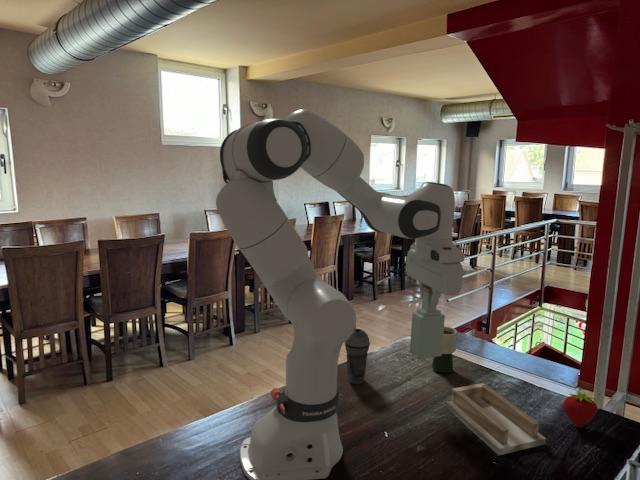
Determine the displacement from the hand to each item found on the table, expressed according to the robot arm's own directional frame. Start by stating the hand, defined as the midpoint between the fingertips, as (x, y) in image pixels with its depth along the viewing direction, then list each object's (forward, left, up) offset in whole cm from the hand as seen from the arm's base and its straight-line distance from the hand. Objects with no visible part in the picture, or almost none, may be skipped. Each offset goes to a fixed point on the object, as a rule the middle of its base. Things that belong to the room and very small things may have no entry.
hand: (429, 301), depth 111 cm
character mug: (+16, +15, -29) cm, 36 cm away
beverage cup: (-12, +17, -29) cm, 35 cm away
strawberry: (+31, -20, -29) cm, 47 cm away
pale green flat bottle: (0, 0, -14) cm, 14 cm away
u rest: (+12, -13, -28) cm, 33 cm away
